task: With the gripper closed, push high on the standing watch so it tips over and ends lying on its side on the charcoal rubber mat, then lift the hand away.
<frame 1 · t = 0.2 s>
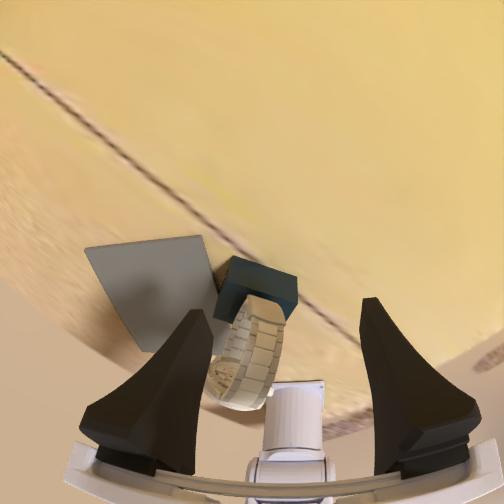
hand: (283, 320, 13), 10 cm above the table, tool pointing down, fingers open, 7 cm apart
watch: (257, 284, 25), on the table
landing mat: (164, 305, 28), on the table
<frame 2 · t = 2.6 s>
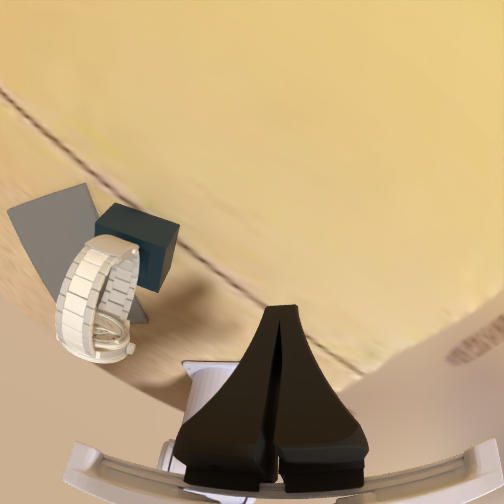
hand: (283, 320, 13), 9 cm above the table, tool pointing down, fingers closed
watch: (144, 235, 22), on the table
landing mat: (72, 265, 25), on the table
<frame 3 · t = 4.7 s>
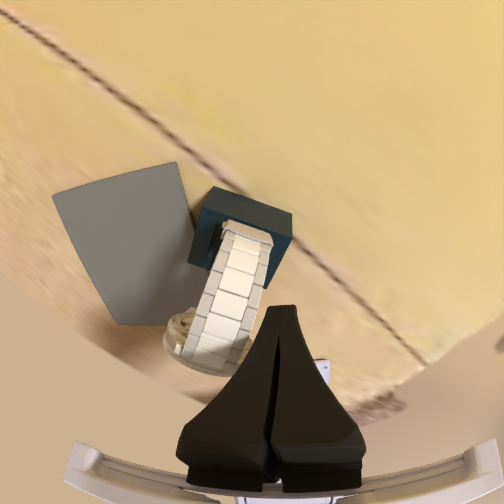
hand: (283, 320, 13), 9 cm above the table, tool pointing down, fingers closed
watch: (243, 225, 21), on the table, touching gripper
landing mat: (137, 260, 24), on the table
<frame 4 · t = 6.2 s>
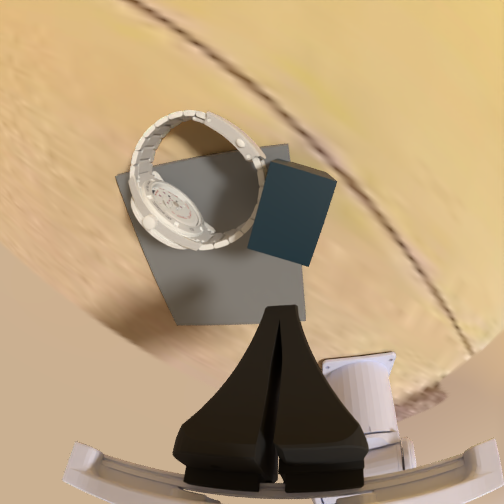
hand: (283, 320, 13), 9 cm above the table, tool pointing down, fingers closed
watch: (321, 216, 16), point 3 cm above the table, touching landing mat
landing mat: (219, 253, 22), on the table
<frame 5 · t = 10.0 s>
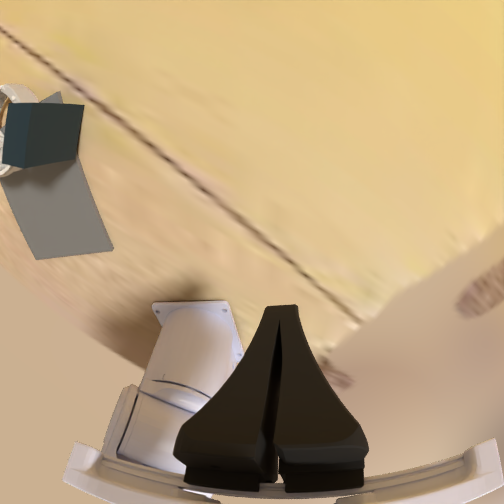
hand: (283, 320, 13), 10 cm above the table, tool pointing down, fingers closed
watch: (56, 135, 16), point 3 cm above the table, touching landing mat
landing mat: (41, 188, 22), on the table
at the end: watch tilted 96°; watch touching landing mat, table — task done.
